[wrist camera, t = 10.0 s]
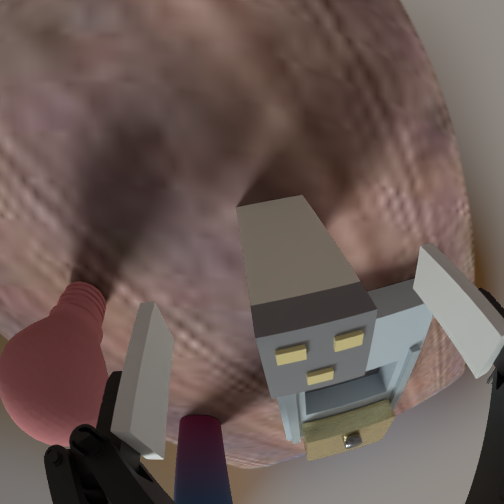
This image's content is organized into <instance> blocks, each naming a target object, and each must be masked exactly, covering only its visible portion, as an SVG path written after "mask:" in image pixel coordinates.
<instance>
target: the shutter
mask: <svg viewBox="0 0 504 504" xmlns="http://www.w3.org/2000/svg"><path fill="white" fill-rule="evenodd" d="M394 418H395V414H394V411H393V409H392V407H391V404H390V402H389V400H388V399H385V400H383V401H380V402H377V403H374V404H371V405H368V406H365V407H362V408H359V409H356V410H352V411H349V412H346V413H342V414H339V415H335V416H331V417H328V418H324V419H320V420H316V421H312V422H308V423H303V424H302V426H303V438H304V447H305V452H306V456H307V461H311V460H314V459H319V458H323V457H327V456H331V455H334V454H338V453H342V452H345V451H348V450H352V449H355V448H358V447H361V446H364V445H367V444H370V443H373V442H376V441H379V440H381V439H382V438H383V436H384V435H385V433H386V431H387V430H388V428H389V426H390V425H391V423H392V421H393V420H394Z"/></svg>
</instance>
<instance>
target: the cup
mask: <svg viewBox="0 0 504 504" xmlns="http://www.w3.org/2000/svg"><path fill="white" fill-rule="evenodd" d="M174 502H175V503H176V504H233V503H232V497H231V491H230V485H229V478H228V472H227V466H226V459H225V452H224V445H223V438H222V431H221V423H220V421H219V420H218V419H216V418H214V417H211V416H206V415H190V416H186V417H184V418H182V419H181V420H180V425H179V436H178V447H177V458H176V471H175V485H174Z"/></svg>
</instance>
